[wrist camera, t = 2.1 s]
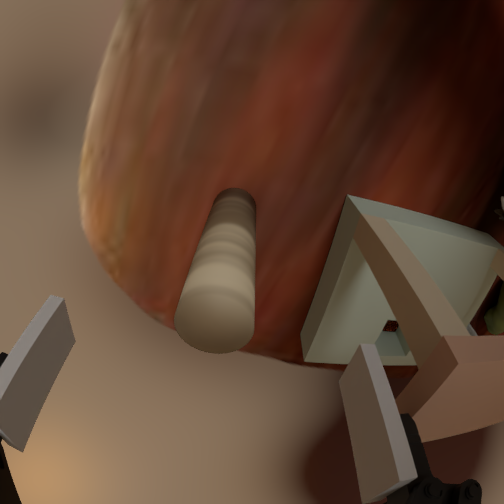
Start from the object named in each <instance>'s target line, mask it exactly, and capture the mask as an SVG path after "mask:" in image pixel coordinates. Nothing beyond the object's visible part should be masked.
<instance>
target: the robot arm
mask: <svg viewBox="0 0 504 504" xmlns="http://www.w3.org/2000/svg"><path fill="white" fill-rule="evenodd" d="M74 343H75V338H74V335H73V331H72V328H71V324H70V321H69V316H68V312H67V309H66V304H65V300H64V298H60V297H57V296H53V295H50V297H49V298H48V299H47V301H46V302H45V303H44V304H43V306H42V307H41V309H40V310H39V311H38V313H37V314H36V316H35V317H34V318H33V320H32V321H31V322H30V324H29V325H28V327H27V328H26V329H25V331H24V332H23V334H22V335H21V337H20V338H19V340H18V341H17V343H16V344H15V346H14V347H13V349H12V350H11V352H10V353H9V355H8V354H6V353H3V352H2V353H1V354H0V504H22V503H21V501H20V498H19V496H18V493H17V491H16V488H15V485H14V482H13V479H12V476H11V473H10V470H9V467H8V464H7V460H6V457H5V453H4V449H3V447H2V445H1V441H2V439H3V440H4V441H5V442H6V443H7V444H8V445H10V446H12V447H13V448H15V449H17V450H19V451H21V452H23V451H24V448H25V445H26V443H27V441H28V438H29V436H30V434H31V431H32V429H33V427H34V424H35V422H36V420H37V417H38V415H39V413H40V410H41V409H42V406H43V404H44V402H45V400H46V398H47V396H48V394H49V392H50V389H51V387H52V385H53V383H54V381H55V379H56V377H57V375H58V373H59V371H60V370H61V368H62V366H63V364H64V362H65V360H66V358H67V356H68V354H69V352H70V350H71V348H72V347H73V345H74ZM339 386H340V390H341V395H342V400H343V404H344V409H345V414H346V418H347V423H348V428H349V433H350V438H351V443H352V448H353V454H354V459H355V465H356V470H357V475H358V482H359V487H360V493H361V500H362V504H365V503H370V502H376V501H380V500H381V499H383V498H385V497H387V502H386V503H384V504H481V497H482V489H481V486H480V484H479V483H478V482H477V481H476V480H473V479H468V480H466V481H464V482H463V483H461V484H444V483H442V482H441V481H440V480H439V479H438V478H435V477H433V475H432V473H431V471H430V467H429V464H428V460H427V457H426V454H425V451H424V447H423V444H422V443H421V442H422V441H421V438H420V435H419V432H418V429H417V426H416V423H415V421H414V420H413V419H412V417H411V416H410V415H409V413H405V414H399V411H398V408H397V405H396V402H395V399H394V396H393V393H392V391H391V388H390V385H389V382H388V379H387V376H386V373H385V371H384V368H383V365H382V362H381V360H380V357H379V354H378V352H377V349H376V346H375V344H359V346H358V348H357V350H356V352H355V354H354V355H353V357H352V359H351V361H350V362H349V364H348V366H347V368H346V369H345V371H344V373H343V375H342V376H341V378H340V380H339Z"/></svg>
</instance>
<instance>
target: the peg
mask: <svg viewBox="0 0 504 504" xmlns="http://www.w3.org/2000/svg"><path fill="white" fill-rule="evenodd" d="M255 251H256V204H255V201H254V199H253V197H252V196H251V195H250V194H249V193H248V192H246V191H245V190H242V189H239V188H229V189H226V190H224V191H222V192H221V193H219V194H218V195H217V197H216V198H215V200H214V203H213V205H212V208H211V211H210V214H209V216H208V219H207V222H206V225H205V227H204V230H203V233H202V236H201V239H200V241H199V244H198V247H197V250H196V253H195V256H194V259H193V261H192V264H191V267H190V270H189V273H188V276H187V279H186V282H185V285H184V288H183V291H182V294H181V297H180V300H179V303H178V307H177V310H176V313H175V316H174V325H175V328H176V331H177V333H178V334H179V336H180V337H181V338H182V339H183V340H184V341H185V342H186V343H188V344H189V345H190V346H192V347H194V348H196V349H198V350H201V351H204V352H209V353H219V354H220V353H229V352H233V351H236V350H238V349H240V348H242V347H243V346H245V345H246V344H247V343H248V342H249V341H250V340H251V338H252V336H253V333H254V311H255Z"/></svg>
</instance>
